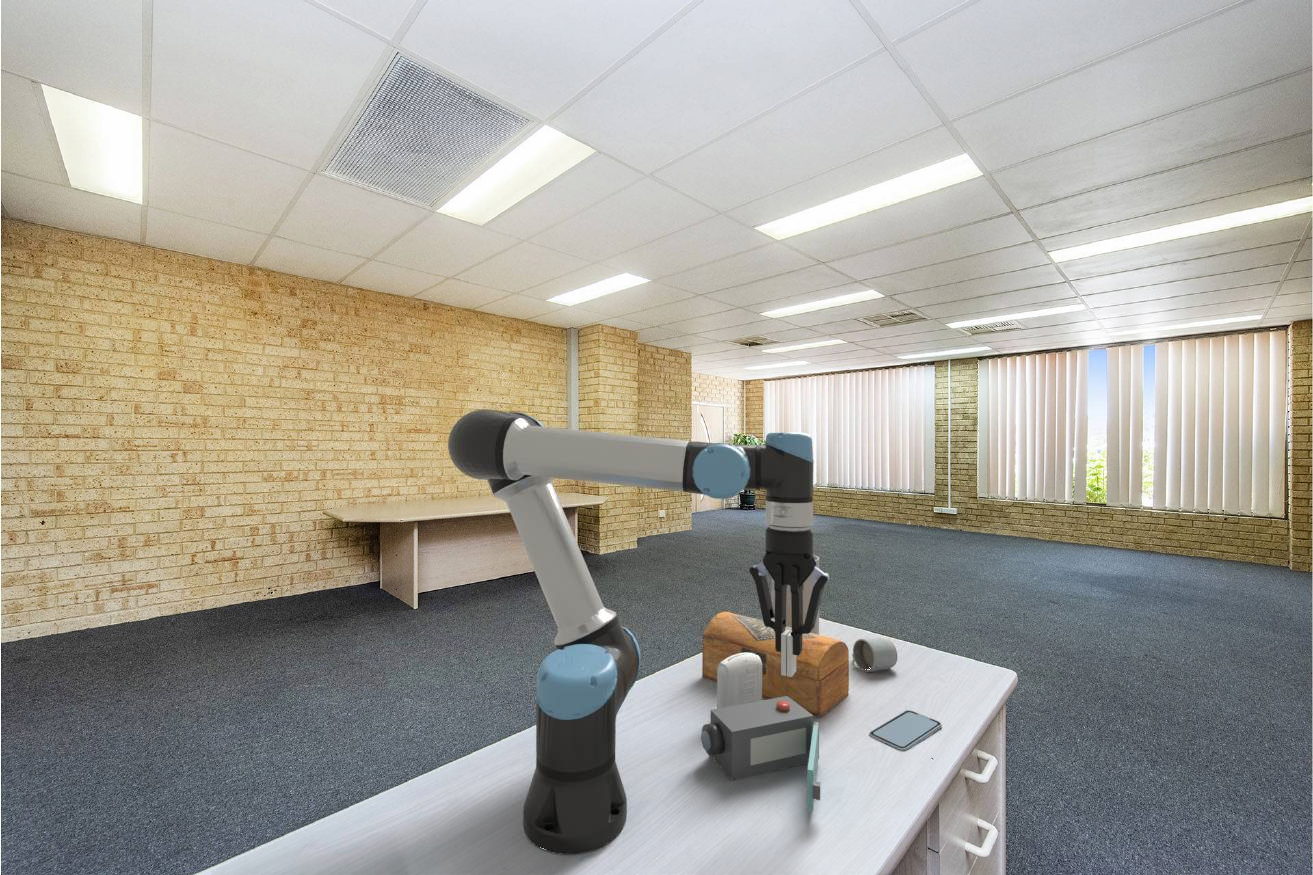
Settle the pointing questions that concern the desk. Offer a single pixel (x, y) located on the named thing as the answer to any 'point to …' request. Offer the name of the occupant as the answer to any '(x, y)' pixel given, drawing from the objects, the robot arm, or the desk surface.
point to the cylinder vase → (807, 593)
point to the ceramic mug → (874, 654)
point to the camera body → (758, 737)
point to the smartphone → (905, 730)
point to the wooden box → (816, 667)
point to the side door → (813, 769)
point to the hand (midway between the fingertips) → (788, 672)
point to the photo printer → (739, 680)
